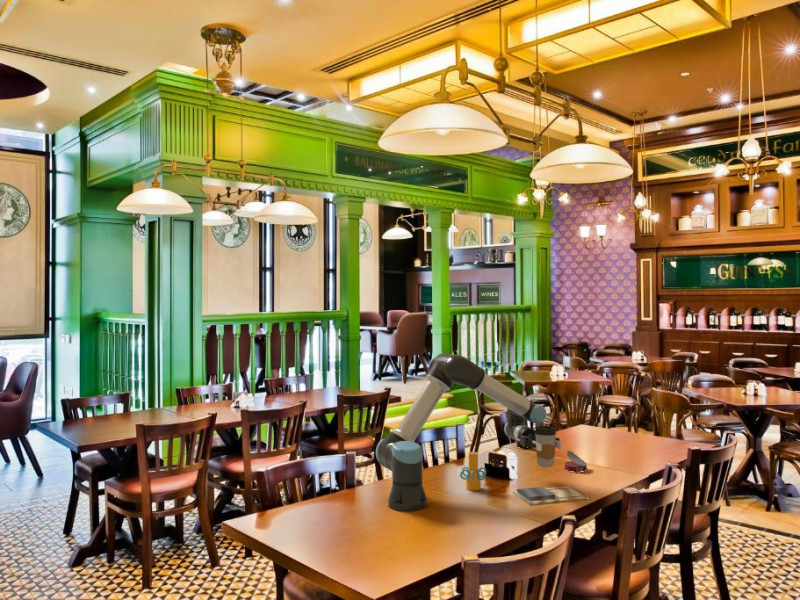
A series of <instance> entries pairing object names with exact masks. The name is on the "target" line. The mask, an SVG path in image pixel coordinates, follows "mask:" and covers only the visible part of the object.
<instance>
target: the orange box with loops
mask: <svg viewBox="0 0 800 600" xmlns="http://www.w3.org/2000/svg"><path fill="white" fill-rule="evenodd" d="M467 457H468V458H467V459H468V463H467V464H468V465H467V466H463V467H462V469H461V471H460V473H459V477H460V478H461V479H462V480H465V481H466V482H465V483H466V484H465V486H466V490H467V491H470V490H471V492H473V491H474V492H475V491H481V486H482V483H481V482H482V481H484V480H485V478H486V475H487V469H486V468H485V467H482V466H480V467H479V452H477V451H469V452H468V453H467ZM465 472H466V474H465ZM480 472H481V473H482V475H481V474H480ZM463 476H464V477H463Z"/></svg>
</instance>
